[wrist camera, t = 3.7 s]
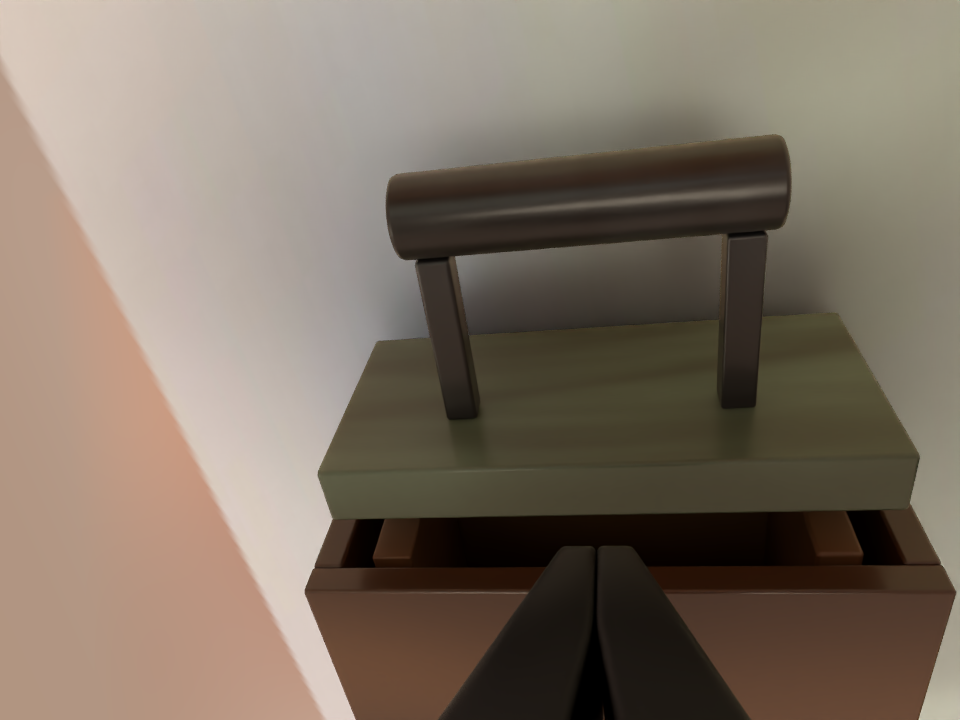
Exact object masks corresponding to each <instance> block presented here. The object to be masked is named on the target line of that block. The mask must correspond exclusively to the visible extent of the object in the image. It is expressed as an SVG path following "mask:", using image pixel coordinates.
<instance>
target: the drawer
mask: <svg viewBox="0 0 960 720" xmlns="http://www.w3.org/2000/svg"><path fill="white" fill-rule="evenodd" d="M791 189H792V176H791V163H790V156H789V151H788V148H787V145H786V142H785V140H784V138H783V137H782V136H780V135H777V134H772V135H763V136H753V137H744V138H734V139H725V140H715V141H705V142H696V143H686V144H677V145H667V146H658V147H648V148H639V149H629V150H620V151H610V152H601V153H591V154H581V155H572V156H562V157H553V158H543V159H534V160H524V161H515V162H505V163H496V164H486V165H476V166H467V167H457V168H448V169H438V170H429V171H419V172H410V173H400V174H395V175H394V176H392V177H391V178H390V180H389V182H388V186H387V192H386V219H387V226H388V231H389V236H390V239H391V242H392V245H393V248H394V250H395V252H396V254H397V255H398V257H399V258H401V259H404V260H416V259H417V261H416V263H415V268H416V273H417V278H418V282H419V287H420V292H421V297H422V301H423V306H424V311H425V316H426V320H427V325H428V330H429V335H430V338H417V339H401V340H385V341H378V342H376V344H375V346H374V349H373V351H372V353H371V355H370V358H369V360H368V362H367V364H366V366H365V369H364V371H363V373H362V375H361V377H360V380H359V382H358V384H357V386H356V388H355V391H354V393H353V395H352V397H351V400H350V402H349V404H348V406H347V408H346V411H345V413H344V415H343V417H342V419H341V422H340V424H339V426H338V428H337V430H336V433H335V435H334V437H333V439H332V442H331V444H330V446H329V448H328V450H327V453H326V455H325V457H324V459H323V461H322V464H321V466H320V468H319V470H318V478H319V481H320V484H321V487H322V489H323V492H324V495H325V498H326V501H327V504H328V507H329V510H330V513H331V515H332V518H333V519H335V520H347V519H385V520H384V523H383V526H382V529H381V532H380V536H379V539H378V542H377V545H376V548H375V552H374V555H373V561H374V564H375V567H376V568H441V567H547V566H548V564H549V563H550V561H551V560H552V559H553V557H554V556H555V554H556V553H557V552H558V550H559V549H560V548H562V547H564V546H592V547H594V548H595V550H596V553H597V550H598V548H599V547H601V546H631V547H632V548H633V549H634V550H635V551H636V552H637V554H638V555H639V556H640V558H641V559H642V561H643V562H644V564H645V565H646V566H836V565H862V560H863V555H864V553H863V551H862V549H861V546H860V544H859V541H858V539H857V536H856V534H855V531H854V529H853V527H852V524H851V522H850V519H849V517H848V514H847V512H846V511H861V510H905V509H907V508H908V507H909V503H910V499H911V494H912V490H913V485H914V481H915V477H916V472H917V468H918V463H919V459H920V455H919V453H918V451H917V449H916V448H915V446H914V444H913V442H912V441H911V439H910V437H909V435H908V434H907V432H906V430H905V429H904V427H903V425H902V423H901V422H900V420H899V418H898V416H897V415H896V413H895V411H894V410H893V408H892V406H891V404H890V403H889V401H888V399H887V397H886V396H885V394H884V392H883V391H882V389H881V387H880V385H879V384H878V382H877V380H876V378H875V377H874V375H873V373H872V372H871V370H870V368H869V366H868V365H867V363H866V361H865V359H864V358H863V356H862V354H861V353H860V351H859V349H858V347H857V346H856V344H855V342H854V340H853V339H852V337H851V335H850V334H849V332H848V330H847V328H846V327H845V325H844V323H843V321H842V320H841V318H840V316H839V315H838V313H835V312H831V313H815V314H799V315H783V316H767V317H762V314H763V300H764V285H765V271H766V257H767V242H768V235H767V233H766V231H767V230H777V229H779V228H781V227H783V225H784V224H785V222H786V219H787V216H788V213H789V208H790V202H791ZM719 234H722V244H721V274H720V304H719V320H704V321H688V322H672V323H656V324H640V325H624V326H608V327H592V328H576V329H560V330H545V331H529V332H513V333H497V334H481V335H469V333H468V327H467V322H466V316H465V310H464V305H463V299H462V293H461V288H460V282H459V277H458V271H457V265H456V260H455V256H465V255H477V254H489V253H501V252H513V251H525V250H537V249H549V248H561V247H573V246H586V245H598V244H610V243H622V242H634V241H646V240H658V239H670V238H682V237H694V236H706V235H719Z"/></svg>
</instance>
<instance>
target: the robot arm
mask: <svg viewBox="0 0 960 720" xmlns="http://www.w3.org/2000/svg"><path fill="white" fill-rule="evenodd" d="M438 720H751V719H750V717H749V716H748V714H747V713H746V711H745V710H744V708H743V707H742V705H741V704H740V703H739V701H738V700H737V698H736V697H735V695H734V694H733V692H732V691H731V689H730V688H729V686H728V685H727V684H726V682H725V681H724V679H723V678H722V676H721V675H720V673H719V672H718V670H717V669H716V667H715V666H714V665H713V663H712V662H711V660H710V659H709V657H708V656H707V654H706V653H705V651H704V650H703V649H702V647H701V646H700V644H699V643H698V641H697V640H696V638H695V637H694V635H693V634H692V632H691V631H690V630H689V628H688V627H687V625H686V624H685V622H684V621H683V619H682V618H681V616H680V615H679V613H678V612H677V611H676V609H675V608H674V606H673V605H672V603H671V602H670V600H669V599H668V597H667V596H666V594H665V593H664V592H663V590H662V589H661V587H660V586H659V584H658V583H657V581H656V580H655V578H654V577H653V575H652V574H651V573H650V571H649V570H648V568H647V567H646V565H645V564H644V562H643V561H642V559H641V558H640V556H639V555H638V554H637V552H636V551H635V550H634V549H633V548H632V547H631V546H601V547H599V548H598V550H597V553H596V550H595V548H594V547H592V546H564V547H562V548H560V549H559V550H558V552H557V553H556V554H555V556H554V557H553V559H552V560H551V561H550V563H549V564H548V566H547V567H546V568H545V570H544V571H543V573H542V574H541V575H540V577H539V578H538V580H537V581H536V582H535V584H534V585H533V587H532V588H531V589H530V591H529V592H528V594H527V595H526V597H525V598H524V599H523V601H522V602H521V604H520V605H519V606H518V608H517V609H516V611H515V612H514V613H513V615H512V616H511V618H510V619H509V620H508V622H507V623H506V625H505V626H504V627H503V629H502V630H501V632H500V633H499V634H498V636H497V637H496V639H495V640H494V641H493V643H492V644H491V646H490V647H489V648H488V650H487V651H486V653H485V654H484V655H483V657H482V658H481V660H480V661H479V662H478V664H477V665H476V667H475V668H474V669H473V671H472V672H471V674H470V675H469V676H468V678H467V679H466V681H465V682H464V683H463V685H462V686H461V688H460V689H459V690H458V692H457V693H456V695H455V696H454V698H453V699H452V700H451V702H450V703H449V705H448V706H447V707H446V709H445V710H444V712H443V713H442V714H441V716H440V717H439V719H438Z"/></svg>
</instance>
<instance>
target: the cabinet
mask: <svg viewBox="0 0 960 720" xmlns="http://www.w3.org/2000/svg"><path fill="white" fill-rule="evenodd" d="M846 512H847V514H848V517H849V519H850V522H851V524H852V527H853V529H854V531H855V534H856V536H857V539H858V541H859V544H860V546H861V549H862V551H863V553H864V555H863V560H862V565H836V566H646V567H647V568H648V570H649V571H650V573H651V574H652V575H653V577H654V578H655V580H656V581H657V583H658V584H659V586H660V587H661V589H662V590H663V592H664V593H665V594H666V596H667V597H668V599H669V600H670V602H671V603H672V605H673V606H674V608H675V609H676V611H677V612H678V613H679V615H680V616H681V618H682V619H683V621H684V622H685V624H686V625H687V627H688V628H689V630H690V631H691V632H692V634H693V635H694V637H695V638H696V640H697V641H698V643H699V644H700V646H701V647H702V649H703V650H704V651H705V653H706V654H707V656H708V657H709V659H710V660H711V662H712V663H713V665H714V666H715V667H716V669H717V670H718V672H719V673H720V675H721V676H722V678H723V679H724V681H725V682H726V684H727V685H728V686H729V688H730V689H731V691H732V692H733V694H734V695H735V697H736V698H737V700H738V701H739V703H740V704H741V705H742V707H743V708H744V710H745V711H746V713H747V714H748V716H749V717H750V719H751V720H918V719H919V716H920V712H921V709H922V706H923V702H924V699H925V696H926V692H927V689H928V686H929V682H930V679H931V675H932V672H933V669H934V665H935V662H936V659H937V655H938V652H939V649H940V645H941V642H942V639H943V635H944V632H945V629H946V625H947V622H948V619H949V615H950V612H951V609H952V605H953V602H954V599H955V595H956V590H955V588H954V586H953V584H952V583H951V581H950V579H949V577H948V575H947V573H946V571H945V569H944V567H943V566H941V562H940V560H939V558H938V556H937V554H936V552H935V550H934V548H933V546H932V544H931V543H930V541H929V539H928V537H927V535H926V533H925V531H924V529H923V527H922V525H921V523H920V521H919V519H918V517H917V516H916V514H915V512H914V510H913V508H912V506H911V504H910V503H909V507H908V508H907V509H905V510H861V511H846ZM384 520H385V519H347V520H335V519H333V520H332V523H331V525H330V528H329V530H328V533H327V535H326V538H325V540H324V543H323V545H322V548H321V550H320V553H319V555H318V558H317V561H316V563H315V569H313V570H312V573H311V575H310V578H309V580H308V583H307V585H306V588H305V595H306V597H307V600H308V602H309V605H310V607H311V610H312V612H313V615H314V617H315V620H316V622H317V625H318V627H319V630H320V632H321V635H322V637H323V640H324V642H325V645H326V647H327V650H328V652H329V654H330V657H331V659H332V662H333V664H334V667H335V669H336V672H337V674H338V677H339V679H340V682H341V684H342V687H343V689H344V692H345V694H346V697H347V699H348V702H349V704H350V706H351V709H352V711H353V714H354V716H355V719H356V720H438V719H439V717H440V716H441V714H442V713H443V712H444V710H445V709H446V707H447V706H448V705H449V703H450V702H451V700H452V699H453V698H454V696H455V695H456V693H457V692H458V690H459V689H460V688H461V686H462V685H463V683H464V682H465V681H466V679H467V678H468V676H469V675H470V674H471V672H472V671H473V669H474V668H475V667H476V665H477V664H478V662H479V661H480V660H481V658H482V657H483V655H484V654H485V653H486V651H487V650H488V648H489V647H490V646H491V644H492V643H493V641H494V640H495V639H496V637H497V636H498V634H499V633H500V632H501V630H502V629H503V627H504V626H505V625H506V623H507V622H508V620H509V619H510V618H511V616H512V615H513V613H514V612H515V611H516V609H517V608H518V606H519V605H520V604H521V602H522V601H523V599H524V598H525V597H526V595H527V594H528V592H529V591H530V589H531V588H532V587H533V585H534V584H535V582H536V581H537V580H538V578H539V577H540V575H541V574H542V573H543V571H544V570H545V568H546V567H441V568H376V567H375V564H374V561H373V555H374V552H375V548H376V545H377V542H378V539H379V536H380V532H381V529H382V526H383V523H384Z"/></svg>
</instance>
